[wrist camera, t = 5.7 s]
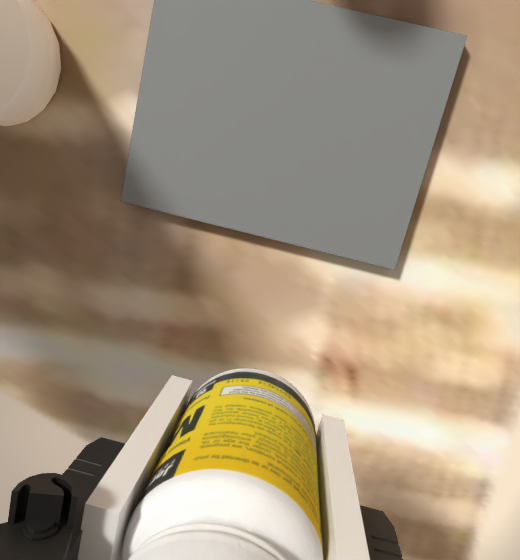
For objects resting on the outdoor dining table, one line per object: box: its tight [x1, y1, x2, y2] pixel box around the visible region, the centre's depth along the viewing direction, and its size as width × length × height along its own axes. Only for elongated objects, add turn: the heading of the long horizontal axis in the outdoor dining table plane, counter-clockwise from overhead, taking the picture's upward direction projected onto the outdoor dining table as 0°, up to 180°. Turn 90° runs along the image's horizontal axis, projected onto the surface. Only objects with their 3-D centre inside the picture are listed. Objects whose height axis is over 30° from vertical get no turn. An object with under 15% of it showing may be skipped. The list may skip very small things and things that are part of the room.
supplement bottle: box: [122, 368, 323, 560], centre depth 12 cm, size 5×5×8 cm
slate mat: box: [121, 0, 467, 270], centre depth 26 cm, size 17×13×1 cm
